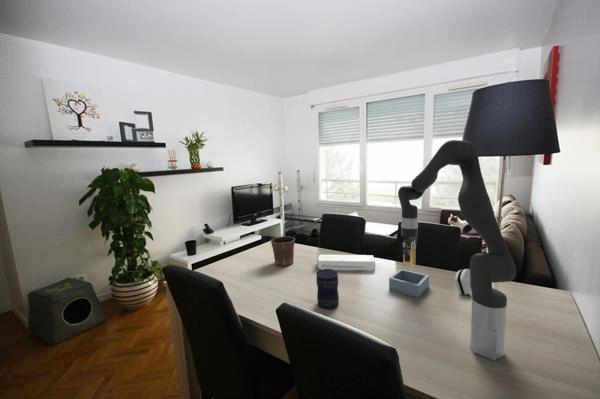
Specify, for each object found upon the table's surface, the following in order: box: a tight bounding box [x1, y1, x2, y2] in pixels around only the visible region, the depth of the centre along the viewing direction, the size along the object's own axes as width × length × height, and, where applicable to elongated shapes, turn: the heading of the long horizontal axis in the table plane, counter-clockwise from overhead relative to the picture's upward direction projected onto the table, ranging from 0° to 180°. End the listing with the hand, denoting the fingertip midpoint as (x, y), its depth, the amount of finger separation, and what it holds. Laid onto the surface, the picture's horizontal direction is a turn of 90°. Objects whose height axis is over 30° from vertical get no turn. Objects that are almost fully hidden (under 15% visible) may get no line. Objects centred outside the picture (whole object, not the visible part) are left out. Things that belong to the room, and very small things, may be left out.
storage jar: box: [316, 269, 340, 311], centre depth 121 cm, size 10×10×15 cm
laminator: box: [316, 254, 376, 272], centre depth 165 cm, size 34×12×6 cm, turn 80°
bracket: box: [402, 245, 416, 268], centre depth 131 cm, size 5×4×10 cm
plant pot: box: [270, 236, 296, 266], centre depth 175 cm, size 16×16×16 cm
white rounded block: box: [454, 268, 472, 298], centre depth 130 cm, size 17×5×10 cm, turn 136°
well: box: [388, 268, 430, 299], centre depth 133 cm, size 14×14×6 cm
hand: (409, 259), depth 131 cm, fingers closed on bracket, 5 cm apart
